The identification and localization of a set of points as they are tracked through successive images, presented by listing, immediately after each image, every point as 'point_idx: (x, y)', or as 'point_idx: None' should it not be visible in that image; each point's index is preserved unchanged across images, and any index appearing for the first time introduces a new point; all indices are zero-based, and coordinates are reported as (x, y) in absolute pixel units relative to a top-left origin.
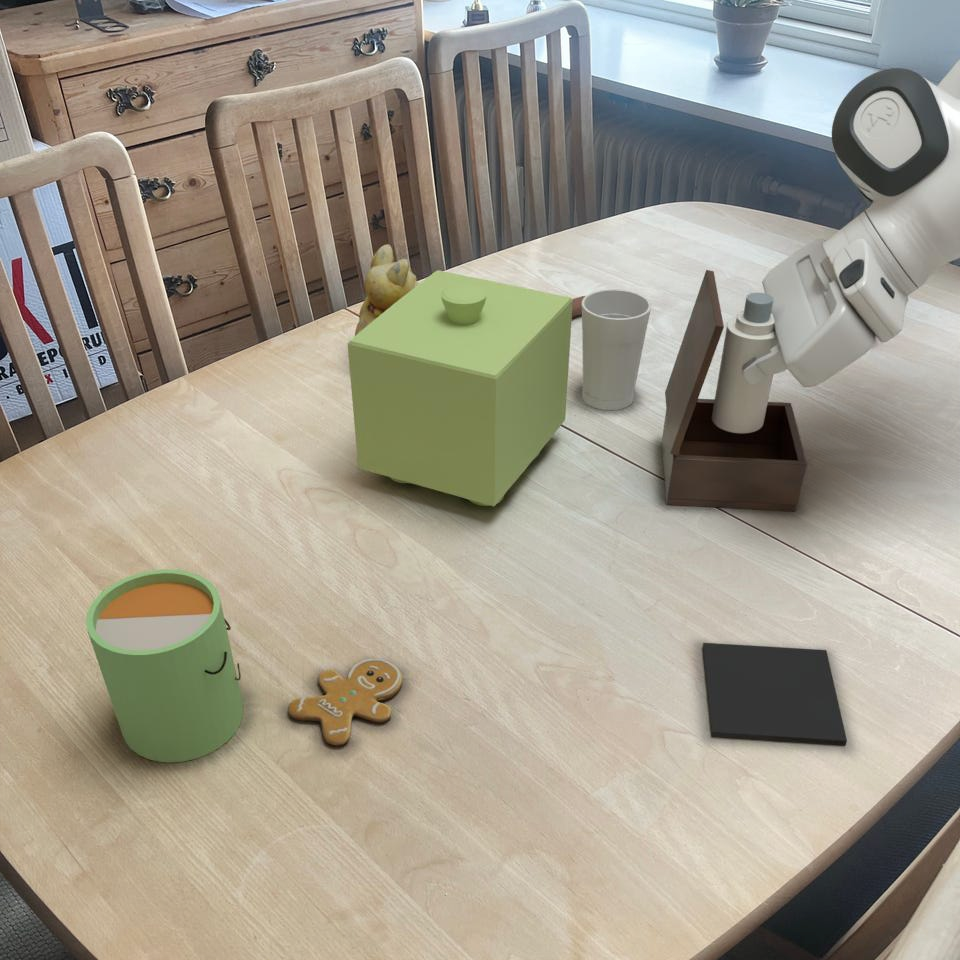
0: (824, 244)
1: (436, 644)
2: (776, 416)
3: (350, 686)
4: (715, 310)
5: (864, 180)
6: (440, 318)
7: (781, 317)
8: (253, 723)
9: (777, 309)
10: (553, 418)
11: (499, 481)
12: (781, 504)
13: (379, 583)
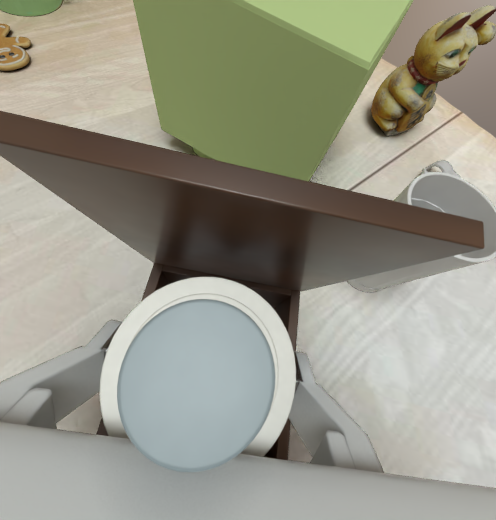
0: None
1: (35, 93)
2: (272, 451)
3: (4, 45)
4: (122, 145)
5: None
6: None
7: (105, 491)
8: (7, 17)
9: (219, 493)
10: None
11: (165, 115)
12: None
13: (115, 79)
